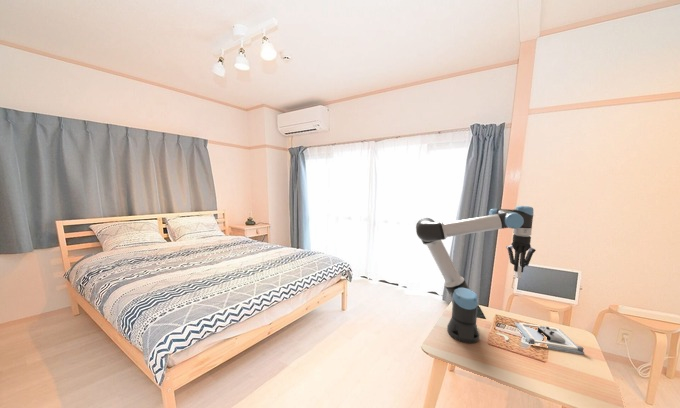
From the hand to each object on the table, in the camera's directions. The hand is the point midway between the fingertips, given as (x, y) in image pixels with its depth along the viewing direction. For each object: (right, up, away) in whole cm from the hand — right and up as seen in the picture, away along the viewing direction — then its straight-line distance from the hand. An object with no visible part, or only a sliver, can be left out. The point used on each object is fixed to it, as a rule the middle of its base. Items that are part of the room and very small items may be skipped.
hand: (517, 277), depth 127 cm
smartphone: (-10, -29, +21) cm, 37 cm away
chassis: (+12, -31, -3) cm, 34 cm away
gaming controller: (+13, -30, -4) cm, 33 cm away
